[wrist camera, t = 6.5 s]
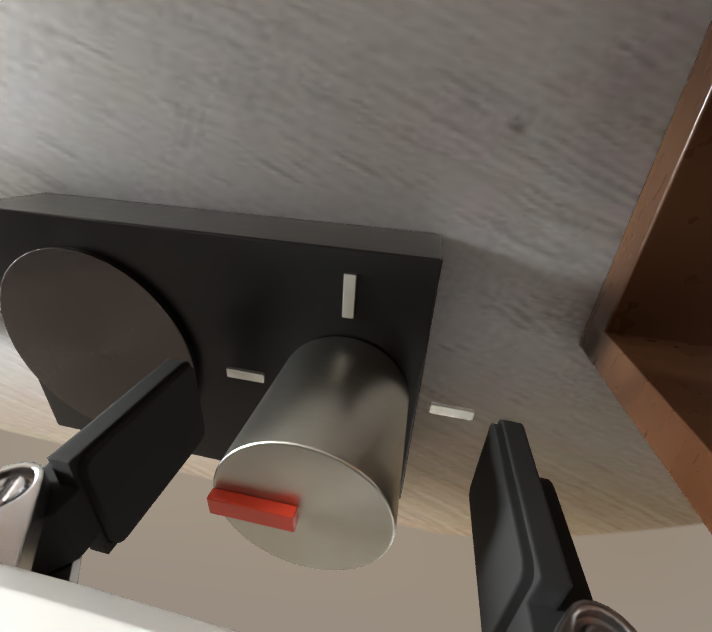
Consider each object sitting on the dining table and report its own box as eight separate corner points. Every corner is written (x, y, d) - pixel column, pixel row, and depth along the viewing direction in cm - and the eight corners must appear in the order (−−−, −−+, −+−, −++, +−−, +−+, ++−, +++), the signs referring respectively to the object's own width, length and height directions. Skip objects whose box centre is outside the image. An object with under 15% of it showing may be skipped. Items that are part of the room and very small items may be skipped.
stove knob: (416, 345, 11) (404, 479, 7) (401, 449, 13) (385, 602, 9) (280, 326, 11) (190, 436, 7) (286, 428, 13) (218, 559, 9)
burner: (212, 443, 15) (208, 448, 15) (50, 409, 16) (44, 413, 16) (180, 260, 11) (174, 263, 11) (-28, 233, 12) (-38, 235, 12)
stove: (444, 451, 16) (446, 514, 14) (109, 385, 19) (54, 427, 16) (495, 239, 12) (514, 269, 9) (45, 192, 14) (-46, 204, 12)
